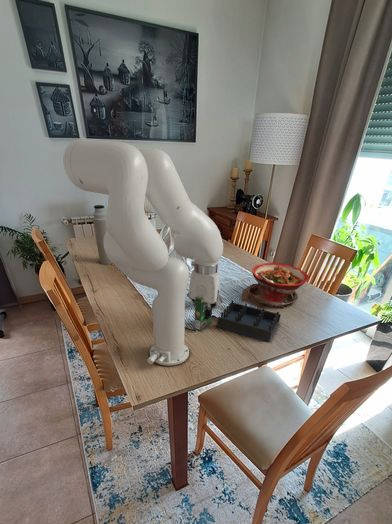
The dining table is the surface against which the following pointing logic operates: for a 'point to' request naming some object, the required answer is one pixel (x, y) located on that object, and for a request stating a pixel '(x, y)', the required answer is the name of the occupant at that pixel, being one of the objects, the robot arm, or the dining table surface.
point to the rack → (249, 321)
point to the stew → (274, 285)
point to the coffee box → (201, 314)
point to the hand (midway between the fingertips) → (203, 315)
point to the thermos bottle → (100, 232)
